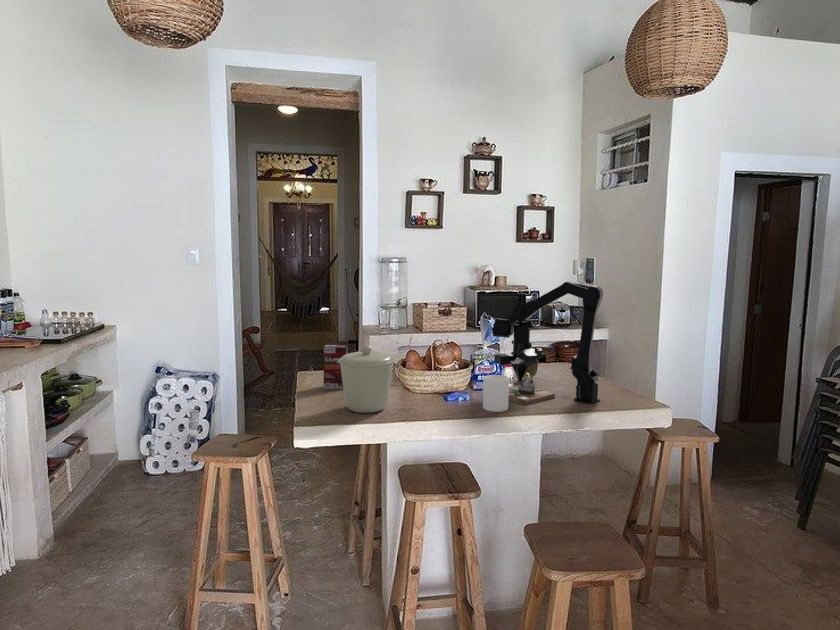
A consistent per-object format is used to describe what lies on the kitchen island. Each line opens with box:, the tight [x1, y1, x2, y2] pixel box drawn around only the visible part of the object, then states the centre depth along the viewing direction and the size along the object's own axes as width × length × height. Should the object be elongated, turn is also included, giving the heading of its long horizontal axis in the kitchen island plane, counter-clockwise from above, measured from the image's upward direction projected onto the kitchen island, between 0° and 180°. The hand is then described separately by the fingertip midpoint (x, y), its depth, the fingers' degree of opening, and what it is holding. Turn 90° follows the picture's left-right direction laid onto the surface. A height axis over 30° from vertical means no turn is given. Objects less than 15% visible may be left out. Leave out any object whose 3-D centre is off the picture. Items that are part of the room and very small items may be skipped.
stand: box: [508, 385, 556, 406], centre depth 195 cm, size 15×15×3 cm
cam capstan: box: [517, 373, 536, 394], centre depth 196 cm, size 11×6×5 cm, turn 168°
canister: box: [338, 344, 395, 414], centre depth 178 cm, size 18×18×21 cm
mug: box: [482, 374, 510, 413], centre depth 182 cm, size 8×10×12 cm
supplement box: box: [323, 344, 348, 390], centre depth 205 cm, size 9×5×16 cm, turn 92°
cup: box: [525, 360, 539, 382], centre depth 218 cm, size 8×7×8 cm
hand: (519, 381), depth 200 cm, fingers closed
